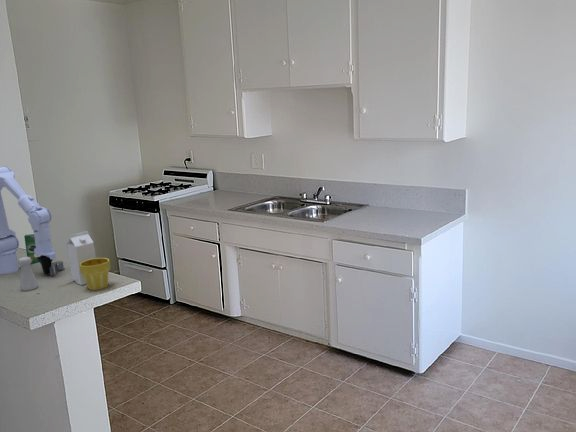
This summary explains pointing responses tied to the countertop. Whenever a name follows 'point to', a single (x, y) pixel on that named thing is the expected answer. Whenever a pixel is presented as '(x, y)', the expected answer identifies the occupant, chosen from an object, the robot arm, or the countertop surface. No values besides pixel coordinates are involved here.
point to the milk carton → (79, 254)
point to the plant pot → (95, 272)
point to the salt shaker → (27, 275)
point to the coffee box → (31, 248)
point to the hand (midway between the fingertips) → (47, 273)
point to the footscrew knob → (56, 267)
